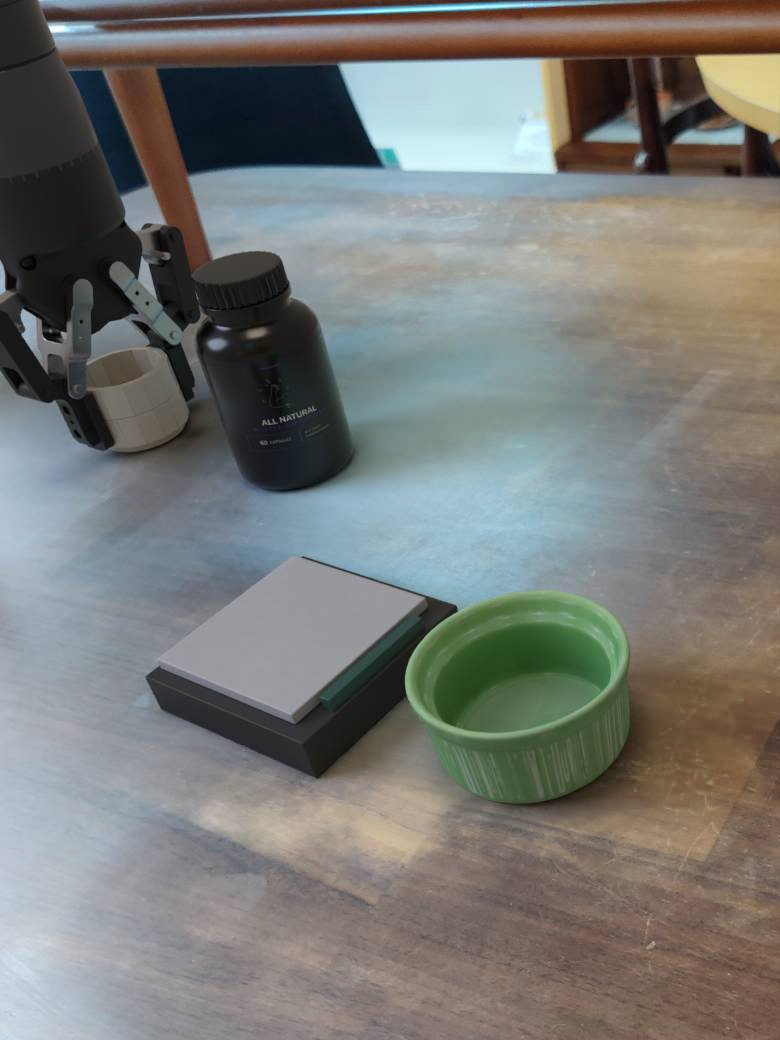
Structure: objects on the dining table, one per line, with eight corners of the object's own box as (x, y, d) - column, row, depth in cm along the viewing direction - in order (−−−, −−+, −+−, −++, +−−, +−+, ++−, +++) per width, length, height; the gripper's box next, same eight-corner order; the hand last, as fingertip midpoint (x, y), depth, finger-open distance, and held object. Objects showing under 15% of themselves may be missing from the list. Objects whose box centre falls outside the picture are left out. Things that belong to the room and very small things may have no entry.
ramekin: (491, 653, 55) (471, 575, 52) (674, 686, 52) (663, 606, 49) (389, 791, 49) (360, 712, 46) (589, 839, 45) (571, 757, 43)
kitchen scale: (160, 709, 55) (138, 665, 53) (314, 587, 61) (298, 544, 59) (316, 778, 50) (297, 732, 48) (466, 638, 56) (454, 593, 54)
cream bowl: (80, 445, 76) (50, 381, 73) (152, 403, 80) (126, 341, 77) (139, 463, 74) (110, 397, 71) (210, 418, 77) (185, 354, 74)
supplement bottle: (304, 503, 67) (234, 300, 60) (218, 482, 70) (140, 287, 63) (381, 443, 72) (324, 247, 64) (296, 426, 75) (232, 237, 67)
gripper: (-52, 203, 59) (86, 491, 70) (172, 112, 68) (265, 380, 79) (-133, 191, 63) (11, 467, 74) (90, 106, 72) (189, 363, 82)
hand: (142, 421), depth 76 cm, fingers closed on cream bowl, 6 cm apart
